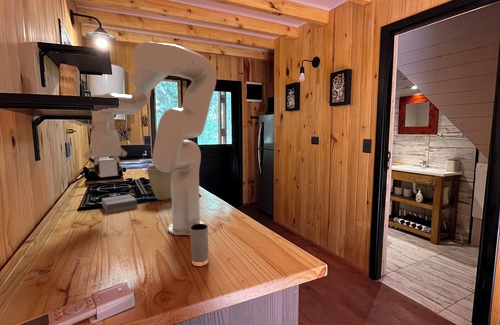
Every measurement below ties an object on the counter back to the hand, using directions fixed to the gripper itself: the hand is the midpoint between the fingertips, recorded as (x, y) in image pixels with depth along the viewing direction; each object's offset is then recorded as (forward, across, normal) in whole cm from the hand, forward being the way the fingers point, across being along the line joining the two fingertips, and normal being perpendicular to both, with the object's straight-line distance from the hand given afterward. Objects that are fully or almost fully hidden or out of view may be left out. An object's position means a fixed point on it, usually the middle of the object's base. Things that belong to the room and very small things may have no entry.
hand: (107, 172), depth 108 cm
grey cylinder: (+18, +10, -56) cm, 60 cm away
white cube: (+1, 0, 0) cm, 1 cm away
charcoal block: (+18, +6, +10) cm, 21 cm away
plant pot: (+18, +27, +11) cm, 34 cm away
